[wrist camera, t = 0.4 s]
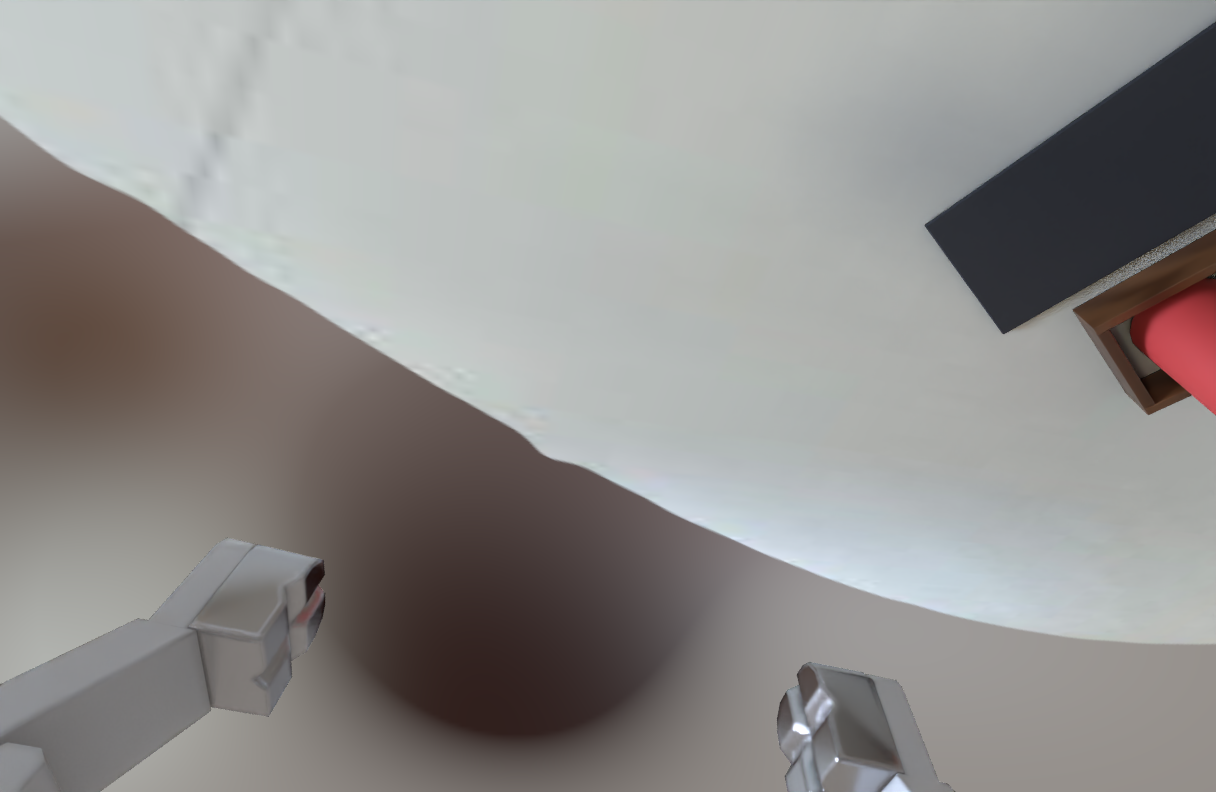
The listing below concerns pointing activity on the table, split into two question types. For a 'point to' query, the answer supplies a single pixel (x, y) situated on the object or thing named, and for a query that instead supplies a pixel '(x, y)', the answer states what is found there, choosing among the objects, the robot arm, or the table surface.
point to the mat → (1092, 192)
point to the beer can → (1183, 339)
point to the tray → (1135, 298)
